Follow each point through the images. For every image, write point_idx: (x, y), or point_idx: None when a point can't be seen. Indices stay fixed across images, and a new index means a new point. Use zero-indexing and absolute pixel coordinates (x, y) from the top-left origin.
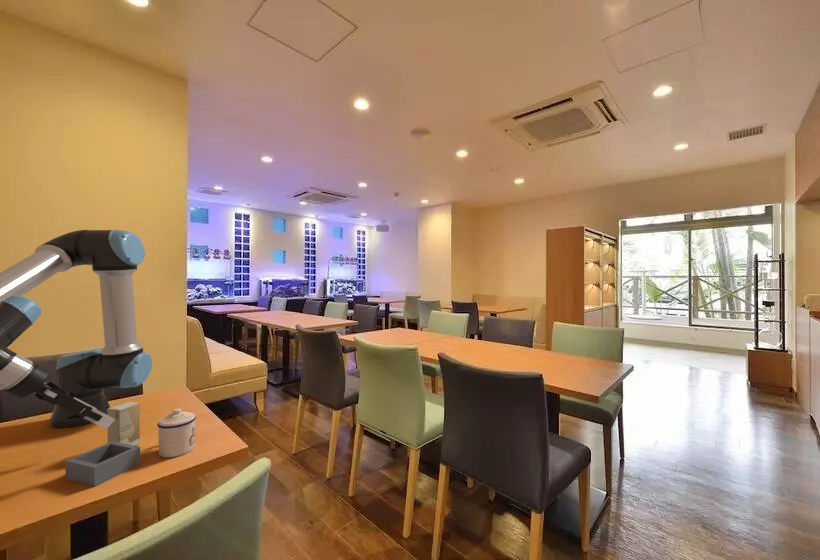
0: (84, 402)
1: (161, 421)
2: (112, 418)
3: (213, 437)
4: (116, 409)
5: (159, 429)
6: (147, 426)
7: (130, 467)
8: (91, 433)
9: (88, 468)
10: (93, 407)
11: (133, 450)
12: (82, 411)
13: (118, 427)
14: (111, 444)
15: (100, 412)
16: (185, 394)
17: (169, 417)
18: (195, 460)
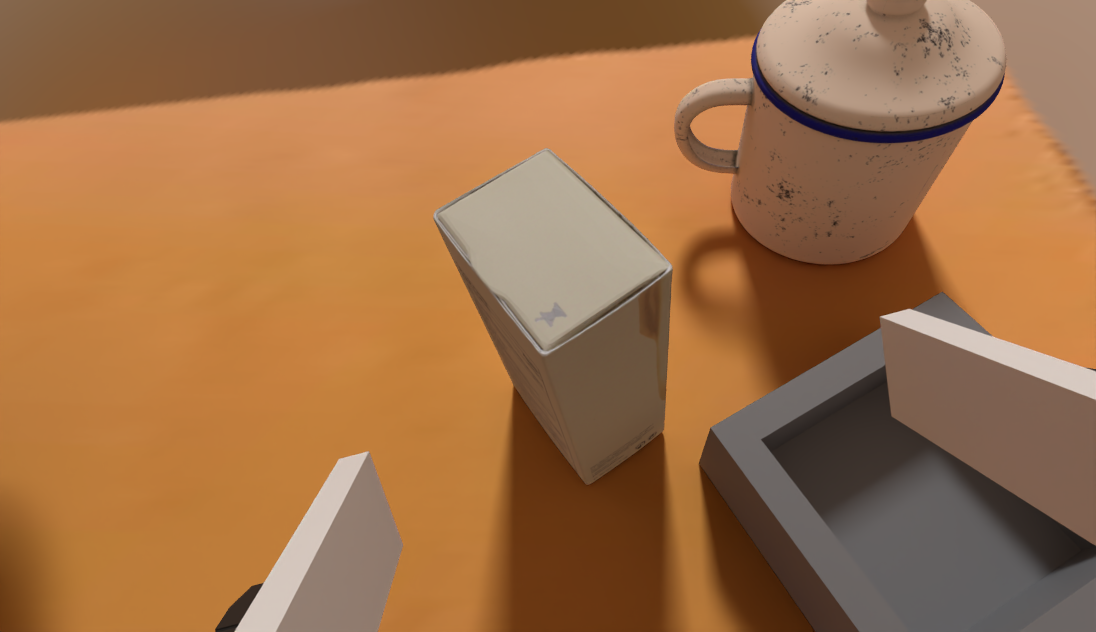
0: (321, 547)
1: (918, 100)
2: (931, 320)
3: None
4: (630, 289)
5: (915, 151)
6: (340, 290)
7: None
8: (152, 560)
9: None
10: (362, 475)
11: (979, 326)
12: (371, 587)
13: (665, 358)
14: (766, 436)
15: (1068, 369)
16: (32, 126)
17: (933, 46)
18: (1002, 150)
